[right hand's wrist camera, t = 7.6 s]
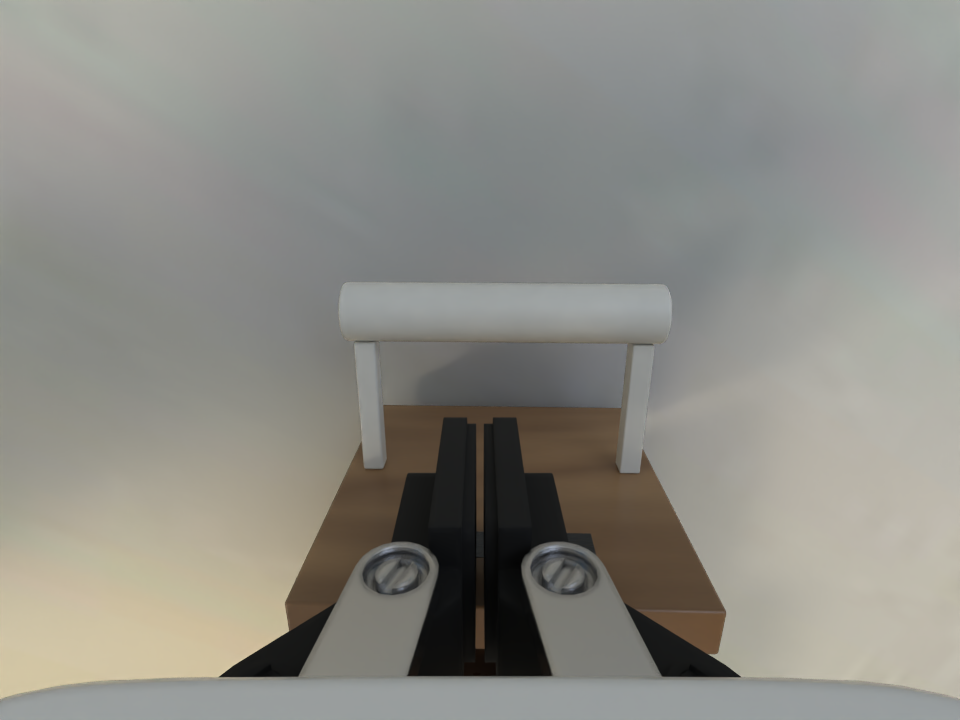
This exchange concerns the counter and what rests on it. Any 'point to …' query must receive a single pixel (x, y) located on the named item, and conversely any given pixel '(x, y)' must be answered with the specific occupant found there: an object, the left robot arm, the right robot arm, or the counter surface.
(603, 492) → the drawer
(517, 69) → the counter surface
